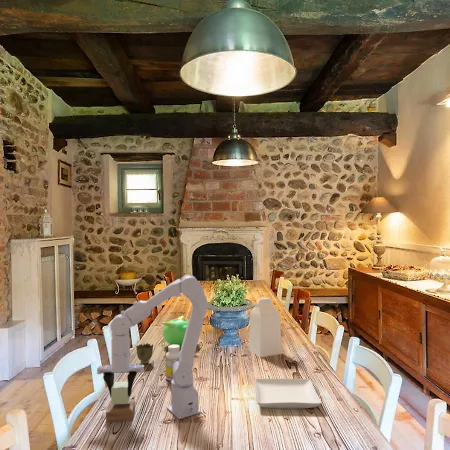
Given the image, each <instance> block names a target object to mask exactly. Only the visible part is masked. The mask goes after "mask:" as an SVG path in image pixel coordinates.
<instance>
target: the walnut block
mask: <svg viewBox="0 0 450 450" xmlns="http://www.w3.org/2000/svg"><path fill="white" fill-rule="evenodd" d="M135 410H136V398H134V399H133V398H132V399H131V398H130V399H129V401H128V403H127V404H111V400H110V401H109V403H108V406H107V407H106V411H105V423H117V422H119V423H120V422H132V421H133V420H134V414H135Z"/></svg>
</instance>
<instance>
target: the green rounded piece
mask: <svg viewBox="0 0 450 450" xmlns="http://www.w3.org/2000/svg"><path fill="white" fill-rule="evenodd" d="M188 321H189V318H186V317H185V315H181V316H179V317H177V318H174V319H170V320H169V321H163V322H161V323H162V325H164V327H163V328H162V337H163V340H164V342H166V343H168V344H169V345H179V346H180V348H181V347H182V343H183V339H184V336H185V332H186V329H187V325H188Z"/></svg>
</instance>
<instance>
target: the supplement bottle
mask: <svg viewBox="0 0 450 450" xmlns="http://www.w3.org/2000/svg"><path fill="white" fill-rule="evenodd" d="M167 350H168V352H166V354H165V378H166V380H168V381H170V382H171V381H172V380H173V370H172V365H173V363H174V361H175V360H176V359H177V357H178V354H179V352H180V350H181V347H180V346H179V345H170V344H169V345H168V347H167Z"/></svg>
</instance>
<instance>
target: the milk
mask: <svg viewBox="0 0 450 450" xmlns="http://www.w3.org/2000/svg"><path fill="white" fill-rule="evenodd" d="M249 313H250V314H249V330H248V331H249V336H248V339H249V340H248V351H249V350H250V351H251V352H250V351H249V352H250V353H252V352H253V353H252V354H254V355H255V354H256V356H257V357H259V358H266V357H272V356H278V355H279V356H280V355H282V354H283V349H282V348H283V346H282V332H281V317H280V313H279V311H278V310H277V308H276V307H275V305H274V303H273V302H272V298H271V297H262V298H258V300H257V302H256V304H255V306H254V307H253V309H251V311H250V312H249Z"/></svg>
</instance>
